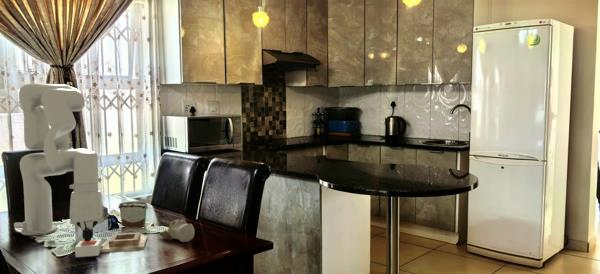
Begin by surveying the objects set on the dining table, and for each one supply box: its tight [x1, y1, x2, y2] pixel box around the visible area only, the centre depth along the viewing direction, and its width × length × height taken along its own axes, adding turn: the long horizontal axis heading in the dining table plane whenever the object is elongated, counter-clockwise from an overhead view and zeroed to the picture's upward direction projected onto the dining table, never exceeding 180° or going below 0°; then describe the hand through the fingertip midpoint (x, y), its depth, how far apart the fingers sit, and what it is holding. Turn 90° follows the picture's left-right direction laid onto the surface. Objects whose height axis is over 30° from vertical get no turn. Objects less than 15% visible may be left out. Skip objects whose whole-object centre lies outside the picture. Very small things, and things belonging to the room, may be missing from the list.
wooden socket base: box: [100, 232, 148, 253], centre depth 170 cm, size 14×14×3 cm
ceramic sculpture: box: [157, 217, 196, 243], centre depth 177 cm, size 11×9×15 cm
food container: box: [118, 200, 149, 228], centre depth 196 cm, size 12×6×10 cm, turn 84°
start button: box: [82, 239, 96, 246], centre depth 161 cm, size 4×4×2 cm
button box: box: [74, 239, 103, 258], centre depth 161 cm, size 7×7×4 cm
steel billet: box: [74, 222, 89, 244], centre depth 175 cm, size 4×4×8 cm
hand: (88, 240), depth 161 cm, fingers closed
